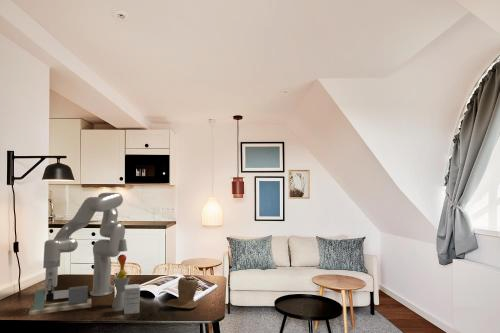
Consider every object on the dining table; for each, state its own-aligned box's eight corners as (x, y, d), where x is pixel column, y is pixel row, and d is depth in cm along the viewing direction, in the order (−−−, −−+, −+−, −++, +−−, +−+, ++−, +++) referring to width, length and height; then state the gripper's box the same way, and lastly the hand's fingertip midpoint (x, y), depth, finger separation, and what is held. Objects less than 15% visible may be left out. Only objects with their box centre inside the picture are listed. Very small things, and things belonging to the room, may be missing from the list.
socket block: (44, 305, 176) (45, 289, 177) (43, 309, 170) (44, 292, 171) (35, 306, 175) (36, 290, 175) (33, 310, 168) (34, 293, 169)
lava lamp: (109, 304, 182) (112, 238, 185) (127, 301, 187) (129, 237, 190) (113, 309, 175) (115, 240, 178) (131, 306, 180) (133, 239, 182)
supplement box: (123, 310, 174) (124, 284, 175) (138, 308, 177) (139, 283, 178) (123, 314, 167) (124, 288, 168) (139, 313, 170) (140, 287, 171)
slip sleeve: (87, 300, 184) (87, 285, 185) (87, 303, 180) (88, 287, 181) (68, 302, 180) (69, 287, 181) (68, 305, 176) (68, 289, 177)
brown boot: (201, 304, 183) (202, 276, 185) (191, 311, 172) (191, 281, 173) (176, 301, 188) (177, 274, 189) (165, 308, 177) (165, 279, 178)
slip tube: (76, 294, 181) (76, 288, 182) (76, 296, 179) (76, 290, 179) (41, 298, 174) (41, 292, 175) (40, 300, 171) (40, 294, 172)
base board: (91, 301, 187) (91, 298, 187) (91, 306, 178) (91, 304, 179) (31, 308, 175) (31, 305, 175) (28, 315, 166) (28, 312, 166)
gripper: (59, 266, 170) (57, 303, 169) (60, 260, 185) (59, 294, 184) (41, 267, 167) (39, 306, 166) (44, 261, 182) (43, 296, 180)
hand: (49, 299), depth 175 cm, fingers closed on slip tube, 3 cm apart
